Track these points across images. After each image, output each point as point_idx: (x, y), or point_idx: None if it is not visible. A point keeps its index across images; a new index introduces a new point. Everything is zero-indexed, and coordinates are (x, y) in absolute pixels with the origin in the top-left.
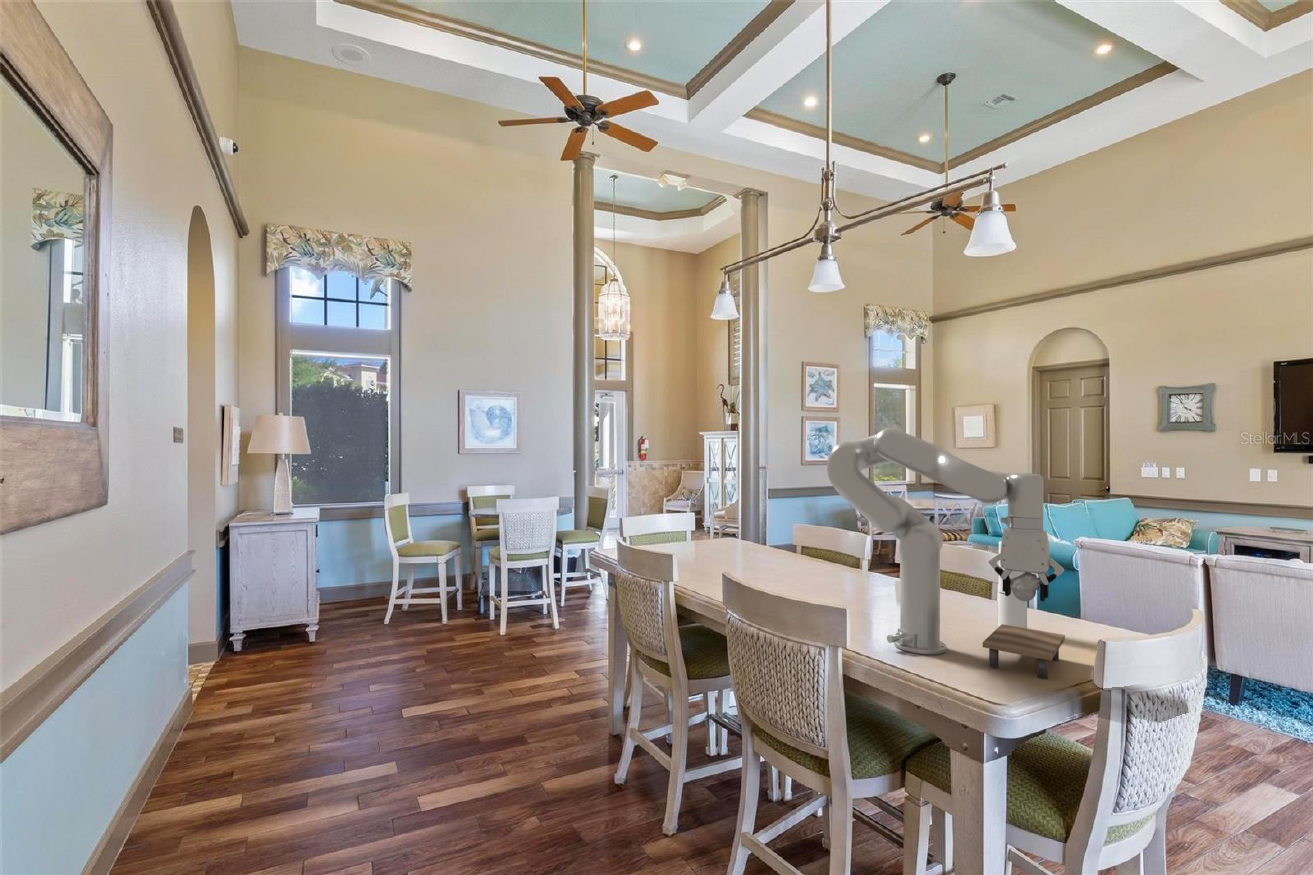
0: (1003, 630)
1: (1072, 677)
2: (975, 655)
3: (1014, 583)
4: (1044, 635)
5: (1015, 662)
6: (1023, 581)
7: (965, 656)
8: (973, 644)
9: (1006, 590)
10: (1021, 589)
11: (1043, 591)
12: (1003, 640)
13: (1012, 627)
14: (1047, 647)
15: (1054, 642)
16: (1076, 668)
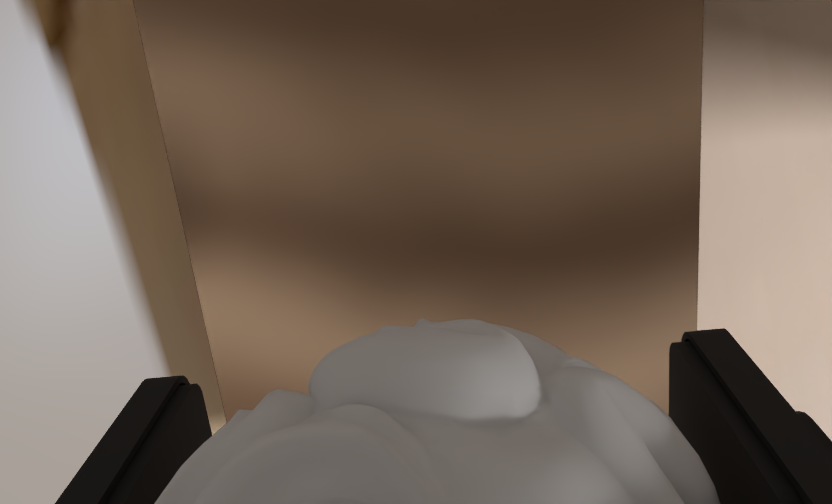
0: (639, 340)
1: (133, 118)
2: (747, 96)
3: (622, 450)
4: None
5: None
6: (405, 476)
7: (804, 13)
8: (810, 336)
9: (732, 371)
10: (439, 330)
11: (84, 479)
12: (561, 19)
13: None
14: (216, 97)
15: (232, 294)
16: (183, 317)
